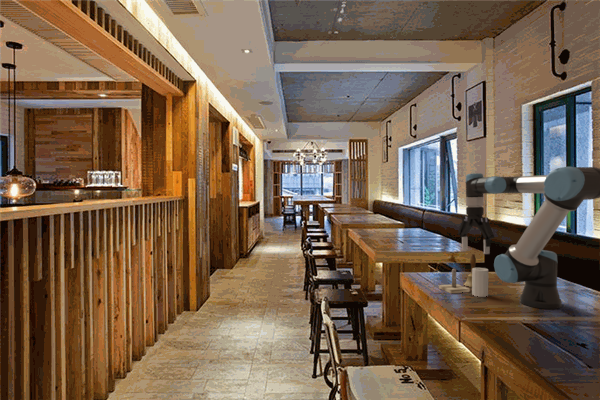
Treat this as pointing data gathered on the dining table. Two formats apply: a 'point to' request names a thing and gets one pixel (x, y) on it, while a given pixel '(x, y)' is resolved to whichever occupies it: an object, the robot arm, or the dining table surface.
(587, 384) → the dining table surface
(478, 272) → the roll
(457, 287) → the stand
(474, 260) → the hand bell
